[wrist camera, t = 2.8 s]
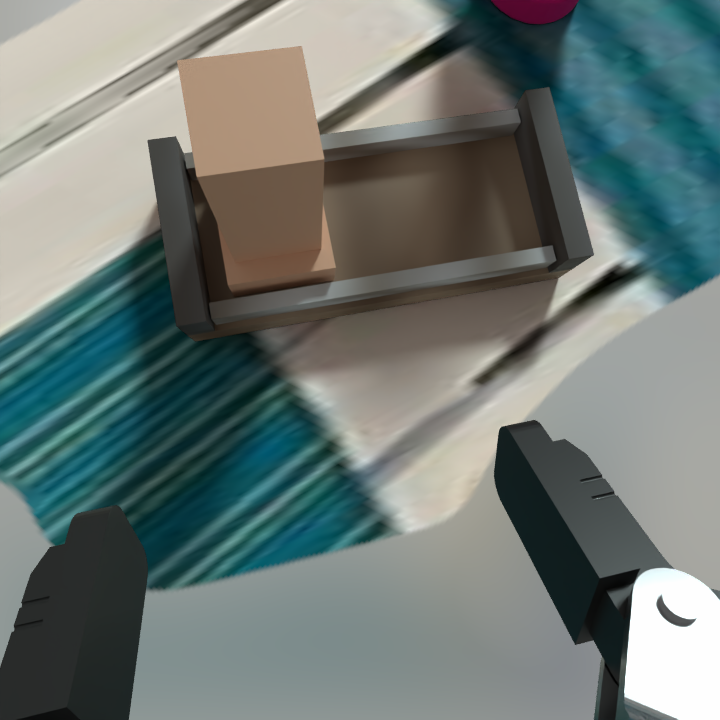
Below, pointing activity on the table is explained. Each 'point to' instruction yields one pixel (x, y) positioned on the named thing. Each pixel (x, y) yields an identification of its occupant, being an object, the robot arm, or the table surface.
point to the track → (394, 219)
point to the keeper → (260, 166)
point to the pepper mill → (535, 9)
